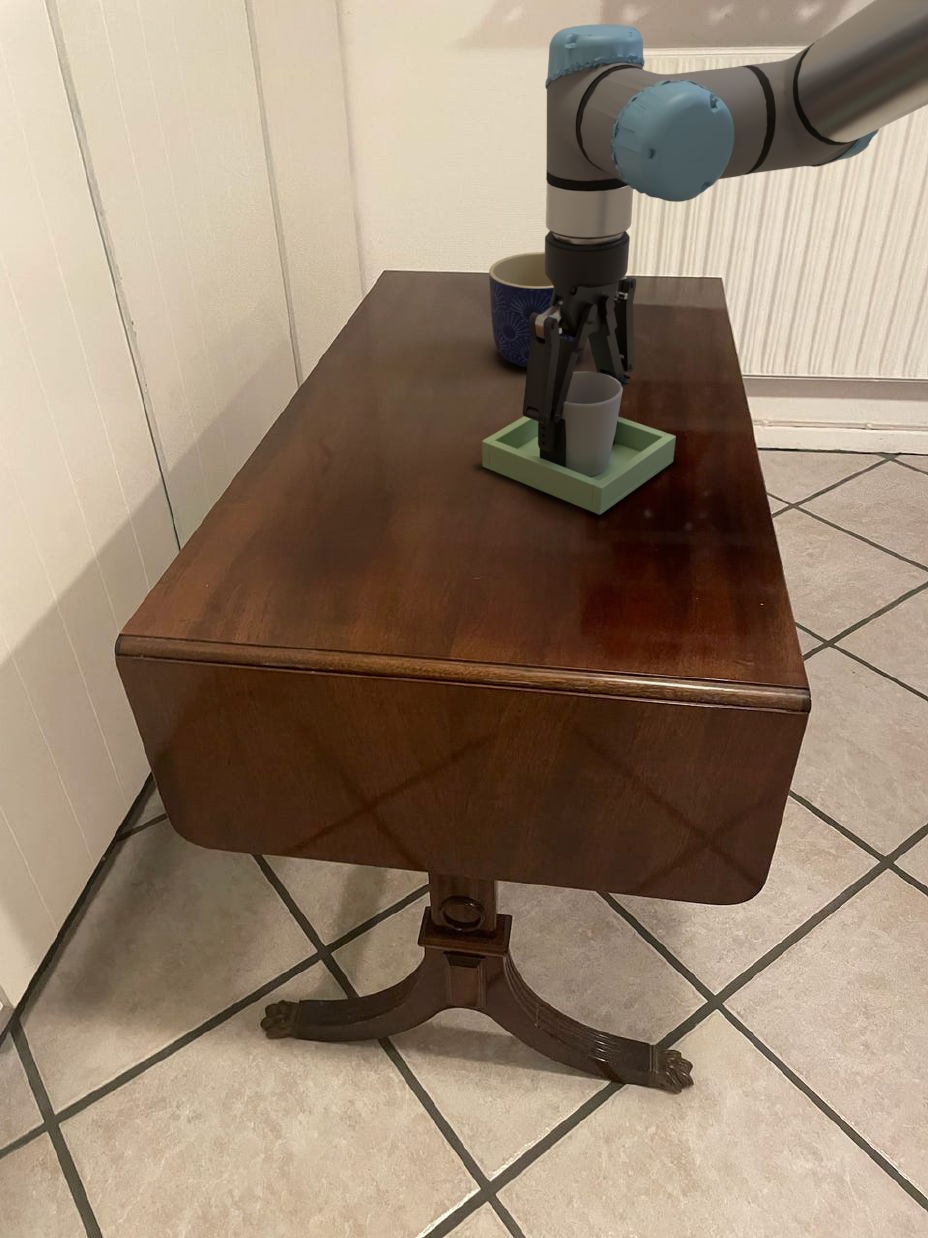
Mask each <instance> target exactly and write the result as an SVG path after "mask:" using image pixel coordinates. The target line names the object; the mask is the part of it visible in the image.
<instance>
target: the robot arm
mask: <svg viewBox="0 0 928 1238" xmlns="http://www.w3.org/2000/svg"><path fill="white" fill-rule="evenodd" d="M548 48H549V50H548V63H547V64H548V65H547V78H546V80H545V85H544V86H545V89H546V170H545V171H546V173H545V174H546V175H545V176H546V177H545V181H546V195H545V196H546V200H545V227H546V229H548V230H549V231H548V232H547V234H546V235H545V237H544V252H545V265H544V270H545V274H546V276H547V277H548V278H549V279H550V281H551V282H552V284H553V287H554V289H553V295H552V299H551V302H550V308H549V309H548V310H547V311H545V312H544V313H543V314H538V313H532V314H531V315H530V317H529V329H530V338H531V340H530V349H529V358H528V367H526V368H527V369H526V376H525V377H526V378H525V386H524V394H523V403H522V417H527V418H530V419H533V420H535V421H538V446H539V448H540V458H542V459H544V460H547V461H549V462H552V463H555V464H557V465H560V466H562V467H565V466H566V422H565V419H562V418H561V416H562V413H563V409H564V402H566V398H567V394H568V390H569V387H570V383H571V379H572V376H573V372H575V368H576V365H577V361H578V356H579V355H580V354H579V352H580V353H582V352H583V351H584V350H585V348H586V345H587V343H589V347H590V350H591V354H592V358H593V363H594V365H595V370H596V372H597V373H602V374H606V375H609V376H611V377H613V378H615V379H616V380H618V381H619V382H620V384H621V386H622V387H625V388H626V387H627V386H629V384H630V383H631V376H629V375H627V374H626V373H632V372H633V371H634V370H635V365H636V363H635V361H636V360H635V322H634V321H635V319H634V317H635V316H634V300H635V294H636V287H637V279H636V278H634V277H631V276H630V277H629V276H627V273H628V268H629V258H630V257H629V256H630V240H631V237H630V235H629V233H628V232H627V230H629V229H630V228H631V226H632V221H633V220H632V219H633V203H634V190H635V191H636V192H637V193H639V194H645V195H646V196H647V197H649V198H653V199H660V200H664V201H667V202H671V203H672V202H673V203H674V202H675V203H682V202H685V201H690V200H693V199H696V198H697V197H698V196H700V195H701V194H702V193H704V192H705V191H706V190H708V189H709V188H711V187H712V186H714V185H715V184H716V182H718V181H719V180H723V179H724V180H725V179H730V178H736V177H741V176H747V175H750V174H751V175H752V174H758V173H766V172H772V171H780V170H788V169H796V168H803V167H813V168H818V167H823V166H827V165H830V164H832V163H835V162H838V161H841V160H842V161H843V160H847V159H850V158H853V157H855V156H857V155H859V154H861V153H862V152H863V151H865V150H866V149H867V148H868V147H869V146H870V142H872V140H873V138H874V137H875V136H876V135H877V134H878V133H879V131H880V129H881V128H883V127H886V126H888V125H889V124H891V123H893V122H895V121H898V120H899V119H901V118H903V117H906V116H907V115H909V114H912V113H913V112H915V111H918V110H920V109H921V108H923V107H925V106H928V0H873V1H872V2H870V3H868V4H867V5H866V6H865V7H863V8H861V9H859V11H857V12H856V13H854V14H853V15H851V16H850V17H848V18H847V19H845V20H844V21H843V22H841V23H840V24H838V25H837V26H835V27H834V28H833V29H831V30H830V31H828V32H827V33H826V34H824V35H822V37H820V38H819V39H817V40H815V41H814V42H812V43H811V44H810V45H808V46H806V47H805V48H803V49H801V51H799V52H797V53H796V54H795V55H793V56H791V57H789V58H786V59H782V60H779V61H770V62H762V63H755V64H754V63H753V64H746V65H739V66H738V65H737V66H733V67H723V68H714V69H704V70H695V71H687V72H678V73H657V72H653V71H649V70H645V69H644V67H645V63H646V62H645V59H644V39H643V37H642V34H641V31H639V29H637V28H635V27H633V26H630V25H623V24H610V23H609V24H603V23H602V24H599V23H598V24H584V25H583V24H582V25H575V26H570V27H569V26H568V27H566V28H563V29H560V30H558V31H557V32H556V33H554V35H553V36H552V37H551V40H550V42H549V46H548ZM562 333H563V334H564V335H566V336H569V337H573V338H575V340H574V341H573V340H569V339H566V338H563V337H562ZM587 341H588V342H587ZM578 354H579V355H578ZM622 356H623V357H622ZM551 407H552V408H551ZM615 432H616V431H615ZM613 445H615V436H614V440H613ZM613 445H612V446H613Z"/></svg>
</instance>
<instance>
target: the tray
mask: <svg viewBox="0 0 928 1238" xmlns="http://www.w3.org/2000/svg"><path fill="white" fill-rule="evenodd" d="M676 438H677V436H676V435H675V434H671V433H667V432H665V431H662V430H659V429H656V428H653V427H650V426H647V425H644V424H641V423H638V422H637V421H633V420H629V419H627V418H624V417H621V416H618V420H617V425H616V432H615V445H613V446H612V450H611V454H610V459H609V463H608V467H607V468H606V469H605V470H604V471H602V472H601V473H599V474H596V475H594V476H589V477H588V476H585V475H583V474H580V473H578V472H575V471H572V470H570V469H567V468H565V467H562V466H560V465H557V464H555V463H552V462H549V461H547V460H544V459H542V458H540V448H539V446H538V421H535V420H533V419H530V418H527V417H524V416H522V417H519V418H518V419H517V420H515V421H513V422H511V423H510V424H507V426H505V427H503V428H502V429H500V430H498V431H497V432H495V433H493V434H491V435H490V436H488V437H486V438H484V439H483V440H481V460H482V467H483V468H485V469H488V470H490V471H492V472H495V473H498V474H500V475H502V476H504V477H507V478H509V479H512V480H514V481H517V482H519V483H522V484H524V485H526V486H529V487H531V488H534V489H536V490H538V491H541V492H542V493H546V494H549V495H551V496H553V497H556V498H558V499H560V500H563V501H565V502H567V503H570V504H572V505H575V506H578V507H580V508H581V509H585V510H586V511H589V512H592V513H594V514H596V515H602V514H603V513H605V512H606V511H607V510H609V509H610V508H611V507H613V506H615V505H616V504H617V503H618V502H620V501H621V500H623V499H624V498H625V497H627V496H628V495H629V494H631V493H632V492H634V491H635V490H636V489H638V488H639V487H640V486H642V485H643V484H645V483H647V482H648V481H649V480H651V478H653V477H654V476H656V475H657V474H658V473H660V472H661V471H662V470H664V469H666V468H667V467H668V466H669V465H671V464H672V463H673V462H674V460H675V459H674V456H675V449H676V440H677V439H676Z"/></svg>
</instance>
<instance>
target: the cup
mask: <svg viewBox="0 0 928 1238" xmlns="http://www.w3.org/2000/svg"><path fill="white" fill-rule="evenodd" d="M623 390H624V389H623V386H622V385H621V384H620V382H619V381H618V380H616V379H615V378H613V377H611V376H609V375H606V374H602V373H597V371H584V370H581V371H574V372H573V376H572V379H571V383H570V387H569V390H568V394H567V398H566V402H564V409H563V413H562V416H561V418H562V419H565V422H566V466H565V468H567V469H570V470H572V471H575V472H578V473H580V474H583V475H585V476H588V477H589V476H594V475H596V474H599V473H601V472H602V471H604V470H605V469H606V468H607V467H608V463H609V459H610V454H611V450H612V445H613V440H614V436H615V431H616V425H617V420H618V417H619V413H620V409H621V408H620V407H621V402H622V395H623ZM551 408H552V407H551Z"/></svg>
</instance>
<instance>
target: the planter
mask: <svg viewBox="0 0 928 1238" xmlns="http://www.w3.org/2000/svg"><path fill="white" fill-rule="evenodd" d="M544 265H545V251H542V252H541V251H540V252H538V251H537V252H526V253H520V254H515V255H509V256H506V257H504V258H502V259H500V260H497V261H496V262H494V263H493V264H492V265H491V266H490V268H489V270H488V279H489V298H490V313H491V315H490V316H491V326H492V335H493V340H494V344H495V348H496V350H497V352H498V353H499V355H500V356H501V357H502V358H503V359H505V361H507V362H508V363H511V364H512V365H515V366H517V367H518V366H519V367H522V368H527V367H528V358H529V349H530V340H531V338H530V329H529V317H530V315H531V314H532V313H538V314H543V313H544V312H545V311H547V310H548V309H549V308H550V302H551V299H552V295H553V289H554V287H553V284H552V282H551V281H550V279H549V278H548V277H547V276H546V274H545V270H544ZM562 337H563V338H566V339H569V340H573V341H574V340H575V338H573V337H569V336H566V335H564V334H563V333H562ZM580 354H581V352H579V354H578V356H579V355H580Z"/></svg>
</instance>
